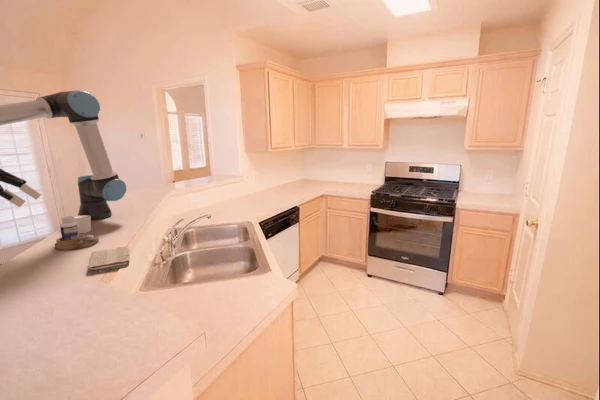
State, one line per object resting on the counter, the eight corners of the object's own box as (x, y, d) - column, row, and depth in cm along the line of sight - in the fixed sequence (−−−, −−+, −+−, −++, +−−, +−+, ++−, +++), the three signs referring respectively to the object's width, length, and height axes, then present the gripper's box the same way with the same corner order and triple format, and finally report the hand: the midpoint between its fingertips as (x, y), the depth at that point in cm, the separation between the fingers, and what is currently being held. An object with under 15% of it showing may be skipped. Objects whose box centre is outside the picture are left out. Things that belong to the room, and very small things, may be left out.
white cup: (82, 234, 128) (80, 218, 127) (69, 232, 129) (67, 217, 128) (96, 229, 134) (94, 215, 133) (83, 228, 136) (82, 214, 134)
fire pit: (94, 236, 125) (93, 229, 125) (102, 244, 116) (101, 236, 115) (52, 243, 115) (51, 236, 115) (57, 253, 106) (56, 244, 105)
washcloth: (87, 276, 89) (86, 267, 89) (90, 257, 104) (89, 249, 103) (131, 268, 96) (130, 259, 95) (128, 251, 110) (128, 243, 110)
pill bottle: (64, 239, 116) (61, 216, 115) (80, 238, 119) (77, 215, 117) (60, 243, 112) (57, 219, 110) (77, 242, 114) (74, 218, 112)
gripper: (-19, 165, 110) (37, 201, 119) (-69, 173, 87) (5, 215, 96) (-4, 151, 110) (51, 187, 119) (-49, 155, 88) (23, 199, 97)
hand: (31, 200), depth 108 cm, fingers open, 13 cm apart
